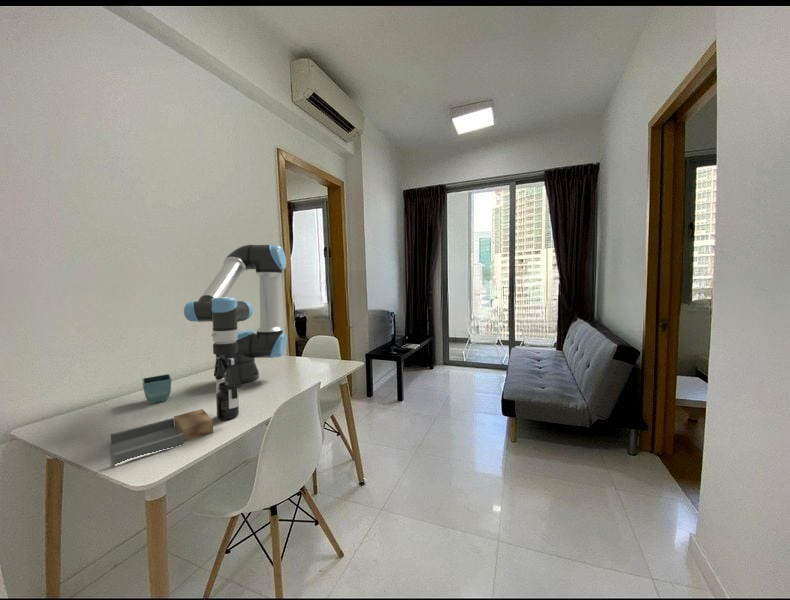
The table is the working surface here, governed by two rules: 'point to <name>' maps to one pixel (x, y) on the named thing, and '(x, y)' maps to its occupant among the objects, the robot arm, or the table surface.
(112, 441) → the grey tray
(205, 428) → the walnut ledge
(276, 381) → the table surface
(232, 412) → the supplement bottle
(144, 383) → the flower pot
